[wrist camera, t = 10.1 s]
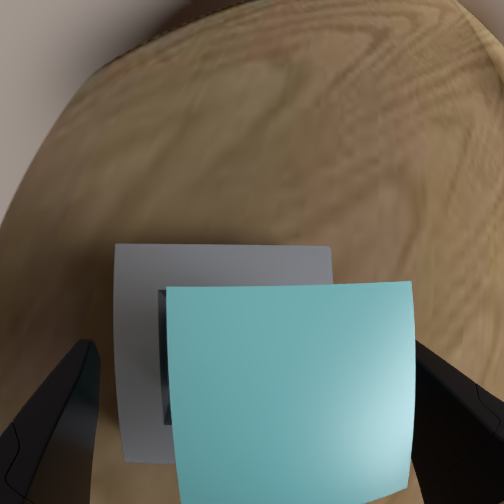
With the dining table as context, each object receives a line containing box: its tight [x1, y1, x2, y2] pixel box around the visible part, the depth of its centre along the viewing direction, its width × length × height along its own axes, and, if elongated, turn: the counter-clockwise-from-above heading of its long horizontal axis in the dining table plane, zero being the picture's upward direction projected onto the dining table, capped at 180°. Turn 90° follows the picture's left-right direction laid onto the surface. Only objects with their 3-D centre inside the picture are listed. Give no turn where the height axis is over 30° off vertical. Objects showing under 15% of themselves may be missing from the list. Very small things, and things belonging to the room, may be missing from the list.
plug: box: [166, 281, 416, 504], centre depth 11 cm, size 4×4×13 cm
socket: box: [113, 244, 333, 464], centre depth 15 cm, size 10×10×4 cm
